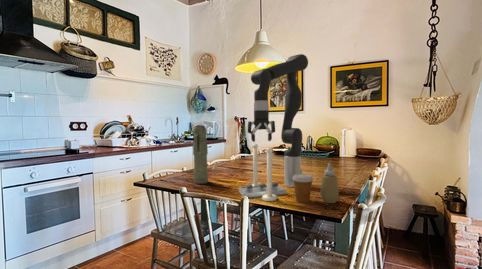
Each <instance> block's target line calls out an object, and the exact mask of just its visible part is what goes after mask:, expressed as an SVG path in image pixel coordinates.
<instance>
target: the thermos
mask: <svg viewBox="0 0 482 269" xmlns="http://www.w3.org/2000/svg"><path fill="white" fill-rule="evenodd" d="M208 151H209V150H208V144H207V129H206V126H205V125H201V124H200V125H195V126H194V127H193V145H192V155H193V167H194V169H193V183H194V184H196V185H204V184H208V183H209V171H208Z"/></svg>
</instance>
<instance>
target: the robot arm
mask: <svg viewBox="0 0 482 269" xmlns="http://www.w3.org/2000/svg"><path fill="white" fill-rule="evenodd" d="M308 65H309V59H308V57H307V56H306V55H305V54H303V53H299V54H295V55H292V56H288V58H287V61H285V62H279V63H276V64H273V65H271V66H268V67H267V68H262V69H258V70H255V71H254V72H253V73H252V74H251V75H250V81H251V83H252V84H254V85H258V87H257V89H255V90H254V92H253V93H254V94H253V100H254V101H253V121H250V120H249V121H247V133H248V134H250V135H251V136H250V137H251V138H250V139H251V142H256V132H257V131H258V130H265V131H266V132H267V141H268V142H271V141H272V139H273V136H272V134H273V133H275V132H276V123H275V121H274V120H271V121H270V120H269V119H270V116H269V115H270V112H269V110H270V108H269V107H270V106H269V91H270V86H271V82H272V81H274V80H277V79H279V78H281V77H284V76H285V75H286V85H285V86H286V88H285V98H284V99H285V101H284V115H283V121H282V127H281V134H280V135H281V136H280V138H281V141H282V142H283V143H284V144H287V145H291V147H290V148H289V149H286V150H285V151H284V152H283V153H284V155H283V157H284V159H283V160H284V163H283V164H284V165H283V166H284V168H283V170H284V172H283V173H284V178H283V180H284V183H283V184H284V185H283V186H285V187H286V188H294V181H293V175H295V174H303V169H302V166H301V164H302V163H301V161H302V156H301V155H302V149H303V131H302V129H300V128H298V127H293V122H294V119H295V116H296V115H297V113H298V112H299V111H300V109H301V107H302V101H303V100H302V99H303V98H302V97H303V94H302V91H301V88H300V86H299V85H298V82H297V72H301V71H302V72H303V71H304V70H306V69H307V68H308ZM269 125H270V126H269ZM252 126H254V127H253V129H252Z"/></svg>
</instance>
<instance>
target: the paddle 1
mask: <svg viewBox="0 0 482 269" xmlns="http://www.w3.org/2000/svg"><path fill="white" fill-rule="evenodd" d="M252 184H253V183H247V184H245V187H246V189H248V190H249V189H252V188H253V186H252Z"/></svg>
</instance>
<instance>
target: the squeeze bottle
mask: <svg viewBox="0 0 482 269" xmlns="http://www.w3.org/2000/svg"><path fill="white" fill-rule="evenodd" d="M332 167H333V166H332V163H331V162H329V163H327V168H326V169H325V170H324V172H323V175H322V177H321V184H320V191H319V192H320V197H321V200H322V202H323V203H325V204H326V203H327V204H336V203H337V202H338V201H337V200H338V197H339V186H338V184H339V183H338V177H337V176H336V171H335V170H333V168H332Z"/></svg>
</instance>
